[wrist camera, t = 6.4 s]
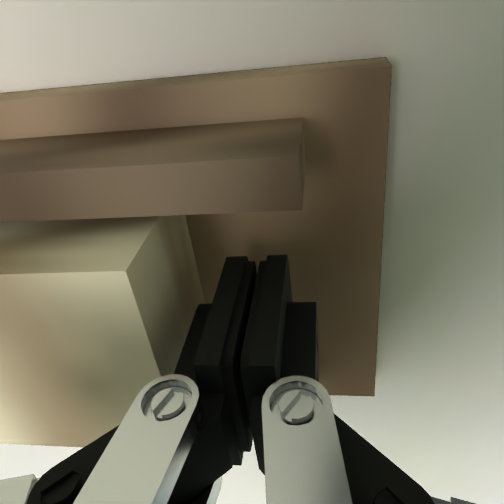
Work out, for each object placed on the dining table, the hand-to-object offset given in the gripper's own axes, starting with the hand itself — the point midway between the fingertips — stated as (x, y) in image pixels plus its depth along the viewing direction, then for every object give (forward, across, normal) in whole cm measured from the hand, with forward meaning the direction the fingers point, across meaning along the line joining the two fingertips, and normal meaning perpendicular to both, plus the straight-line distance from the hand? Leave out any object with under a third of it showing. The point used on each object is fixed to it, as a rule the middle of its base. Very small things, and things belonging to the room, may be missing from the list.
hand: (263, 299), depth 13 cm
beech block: (+1, +5, 0) cm, 5 cm away
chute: (+2, +8, 0) cm, 8 cm away
